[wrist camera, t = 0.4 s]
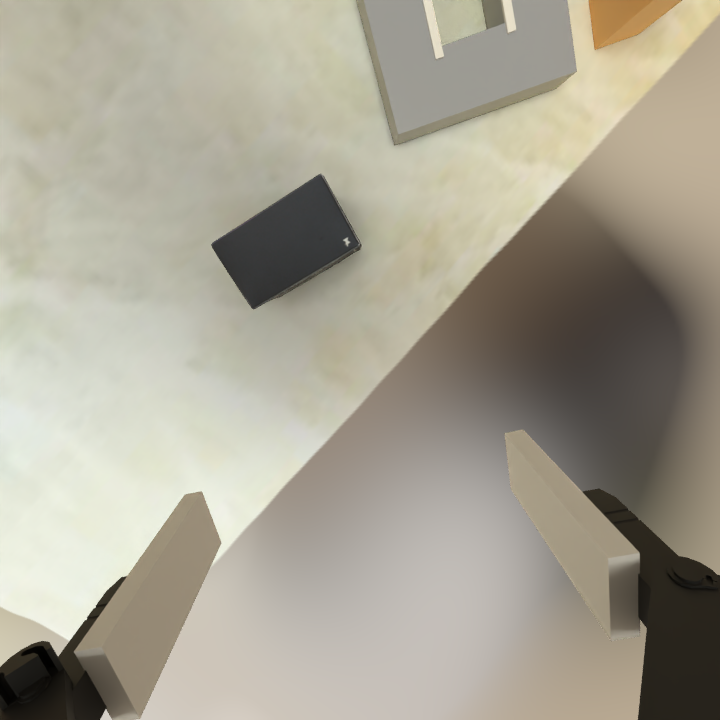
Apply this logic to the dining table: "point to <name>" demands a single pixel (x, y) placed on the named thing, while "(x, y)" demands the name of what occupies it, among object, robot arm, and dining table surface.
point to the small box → (287, 243)
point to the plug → (624, 18)
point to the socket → (464, 60)
